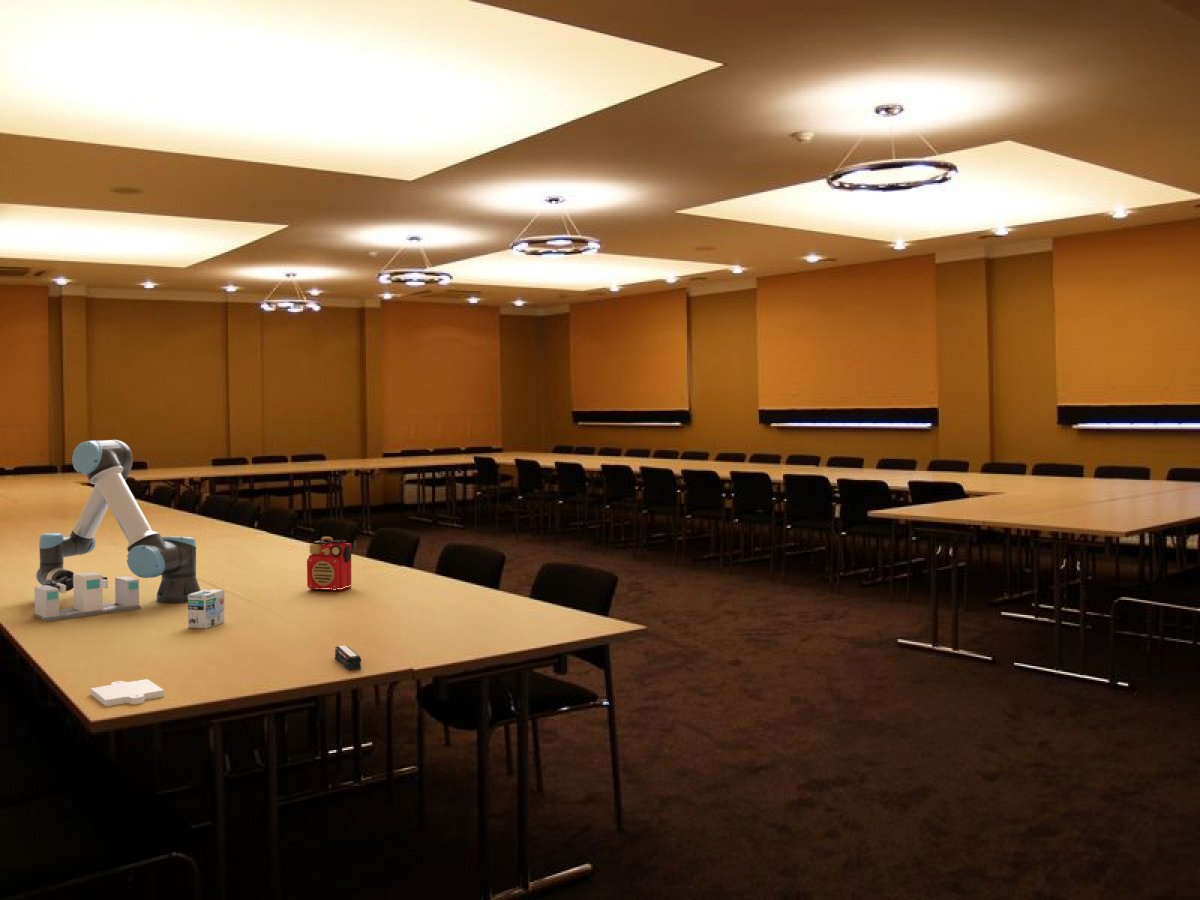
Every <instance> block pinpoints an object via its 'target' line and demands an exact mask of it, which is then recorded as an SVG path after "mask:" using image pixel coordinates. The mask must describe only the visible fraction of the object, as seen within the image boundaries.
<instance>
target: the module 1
mask: <svg viewBox="0 0 1200 900" xmlns="http://www.w3.org/2000/svg"><path fill="white" fill-rule="evenodd" d="M59 610H60V592H59V589H58V588H55V587H52V586H48V585H45V586H43V585H38V586H37V585H36V586H34V613H35V614H37V615H40V616H43V617H45V618H48V617H55V616H59Z"/></svg>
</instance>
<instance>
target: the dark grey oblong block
mask: <svg viewBox="0 0 1200 900" xmlns="http://www.w3.org/2000/svg"><path fill="white" fill-rule="evenodd" d="M334 654H335V655H334V659H335V660H336V661H337V662H338V663H339V664H341V666H343V667H344V668H345V669H346V670H347V671H348V672H349V671H351V672H352V671H357V670H362V658H361V656H360V655H359V654H358V653H356V652H355V651H354V650H353V649H351V648H350V647H349V646H348V645H339V646H338V645H337V646H335V647H334Z"/></svg>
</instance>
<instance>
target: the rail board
mask: <svg viewBox="0 0 1200 900" xmlns="http://www.w3.org/2000/svg"><path fill="white" fill-rule="evenodd" d="M140 609H142V605H140V604H139V605H136V606H129V607H127V606H124V605H120V604H117V603H115V601H114V602H106V603H103V610H95V611H88V612H83V611H79V610H76V609H74V607H68V608H62V609H60V608H59V616H55V617H48V618H45V617H43V616H40V615H37V614H35V612H33V613H32V616H33V617H35V618H37V619H39V620H43V621H45V622H54V621H59V620H68V619H75V618H83V617H89V616H97V615H103V614H112V613H117V612H118V613H119V612H126V611H133V610H140Z"/></svg>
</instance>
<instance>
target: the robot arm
mask: <svg viewBox="0 0 1200 900" xmlns="http://www.w3.org/2000/svg"><path fill="white" fill-rule="evenodd" d="M132 452H133V451H132V450H131V448H130V447H129V445H128V444H126V443H125V442H123V441H121V440H118V439H108V440H107V439H105V440H104V439H102V440H94V439H92V440H91V439H90V440H87V441H82V442H80V443H78V445H77V446H76V447H75V448H74V450H73V455H72V458H71V461H72V465H73V466H72V467H73V468H74V470H75V471H76V472H77V473H79V474H81V475H85V476H86V477H87V479H88V480H89V483H90V484H92V485H94V486H93V489H92V491H91V492H90V494H89V497H88V499H87V500H86V503H85V504H84V507H83V509H82V511H81V512H80V515H79V517H78V519H77V521H76V523H75V525H74V527H73V529H72V531H71V533H70V534H69V535H67V536H64V534H63V533H62V532H48V533H47V532H46V533H42V534H41V535H39V536H40V537H39V544H38V547H39V568H38V569H37V571H36V573H35V579H36V581H37V582H38V583H39V584H40V585H41V586H45V585H48V586H52V587H55V588H58V589H59V594H60V593H61V594H66V593H67V592H70V591H71V590H73V574H75V572H73V570H69V569H66V568H64V559H65V558H69V557H73V556H74V557H75V556H82V555H85V554H89V553H91V552H92V551H93V550H95V547H96V539H95V535H96V533H97V530H98V529H99V528H100V525H101V523H102V521H103V519H104V517H105V515H106V513H107V511H108V509H110V511H111V513H112V515H113V516H114V518H115V520H116V523H117V524H118V526H119V528H120V529H121V531H122V533H123V534H124V536H125V539H126V540H127V542H128V543H127V544H128V545H127V547H126V550H127V552H128V553H127V555H126V556H127V557H126V558H127V559H126V562H127V563H126V564H127V566H128V569H129V570H130V572H131V573H132V574H133V575H135V576H136V577H138V578H143V579H148V578H149V579H150V578H151V579H153V578H158V577H160V576H161V580H160V584H159V586H158V589H157V591H156V602H157V603H166V604H167V603H169V604H175V603H188V594H191V593H195V592H198V591H202V589H201V587H200V585H199V582H198V579H197V544H196V543H197V542H196V539H195V538H194V537H192V536H165V535H164V536H161V534H160V532H158V531H153V529H152V526H150V523H149V521H148V519H147V518H146V517H145V514H144V512H143V511H142V509H141V507H140V506H139V504H138V502H137V500H136V498H135V495H134V494H133V493H132V490H130V487H129V485H128V484H127V481H126V480H127V478H128V477H129V475H130V473H131V470H132V467H133V462H134V461H133V459H134V456H133V453H132ZM108 588H109V580H108V577H107V576H103V575H102V589H108Z"/></svg>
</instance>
